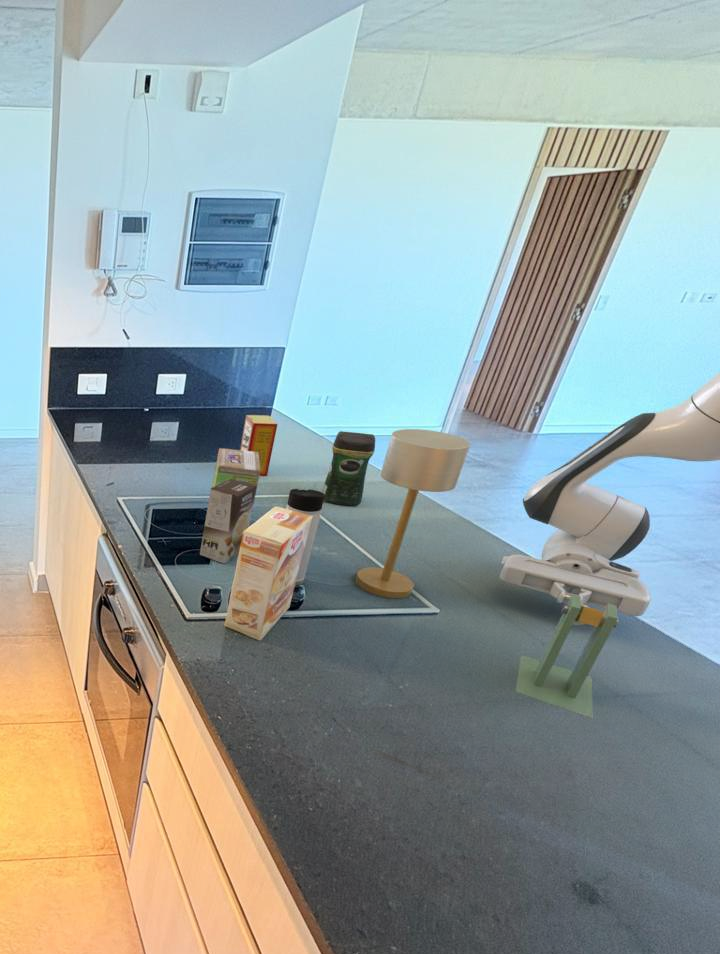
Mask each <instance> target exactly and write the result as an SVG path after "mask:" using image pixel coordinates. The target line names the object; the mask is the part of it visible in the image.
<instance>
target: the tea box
mask: <svg viewBox="0 0 720 954" xmlns="http://www.w3.org/2000/svg"><path fill="white" fill-rule="evenodd" d="M213 473H214V474H213V478H212V485H211V488H212V487H215V486H217V485H219V484H221V483H223V482H225V481H227V480H229V479H234V480H237V481H243V482H247V483H250V484H254V485H257V487H259V486H258V485H259V480H260V477H261V476H260V461H259V453H258V452H252V451H242V450H240V449H231V448H224V447H223V448H221V447H220V448H218V453H217V458H216V463H215V468H214V472H213Z"/></svg>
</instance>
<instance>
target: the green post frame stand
mask: <svg viewBox="0 0 720 954" xmlns="http://www.w3.org/2000/svg"><path fill="white" fill-rule="evenodd" d="M580 609H581V596H578V595H574V594H572V596H571V598H570V600H569V602H568V604H567V605H566V604H563V606H562V608H561V611H560V613H561V616H560V618H559V620H558V623H557V625H556V627H555V628H554V630H553V633H552V635H551V637H550V639H549V641H548V642H547V645H546V647H545V649H544V651H543V653H542V656H540V657H541V658H540V659H536V658H533V657H530V656H526V655H523V654H520V658H519V664H518V673H517V680H516V687H515V692H516V693H518V694H522V695H524V696H527V697H529V698H533V699H535V700H539V701H540V702H544V703H547V704H550V705H553V706H556V707H559V708H562V709H565V710H568V711H570V712H574V713H577V714H580V715H582V716H585V717H587V718H591V719H594V709H593V708H594V707H593V705H594V704H593V678H592V676H590V675H589V673H590V672H591V670H592V668H593V666H594V665H595V662H596V661H597V658H598V657H599V655H600V653H601V652H602V649H603V648H604V646H605V643H606V642H607V640H608V638H609V636H610V634H611V633H612V632H613V629H616V628H617V626H618V624H619V620H620V619H619V617H618V615H619V614H618V612H617V606H616V605H612V604H609V603H608V604H607V606H606V608H603V609H604V610H603V611H604V613H603V615H602V618H601V620H600V623H599V625H598V627H596V626H594V629H593V631H592V632H591V635H590V637H589V638H588V640H587V643H585V646H584V648H583V650H582V651H581V654H580V656H578V657H579V658H578V659H577V661H576V663H575V665H574V667H573V669H572V670H570V669H567V668H566V667H565V668H564V667H561V666H558V665H554V664H555V661H556V659H557V657H558V655H559V654H560V651H561V649H562V647H563V646H564V644H565V641H566V639H567V637H568V635H569V633H570V631H571V629H572V627H573V623H574V621H575V619H576V617H577V615H578V613H579V611H580Z"/></svg>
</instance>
